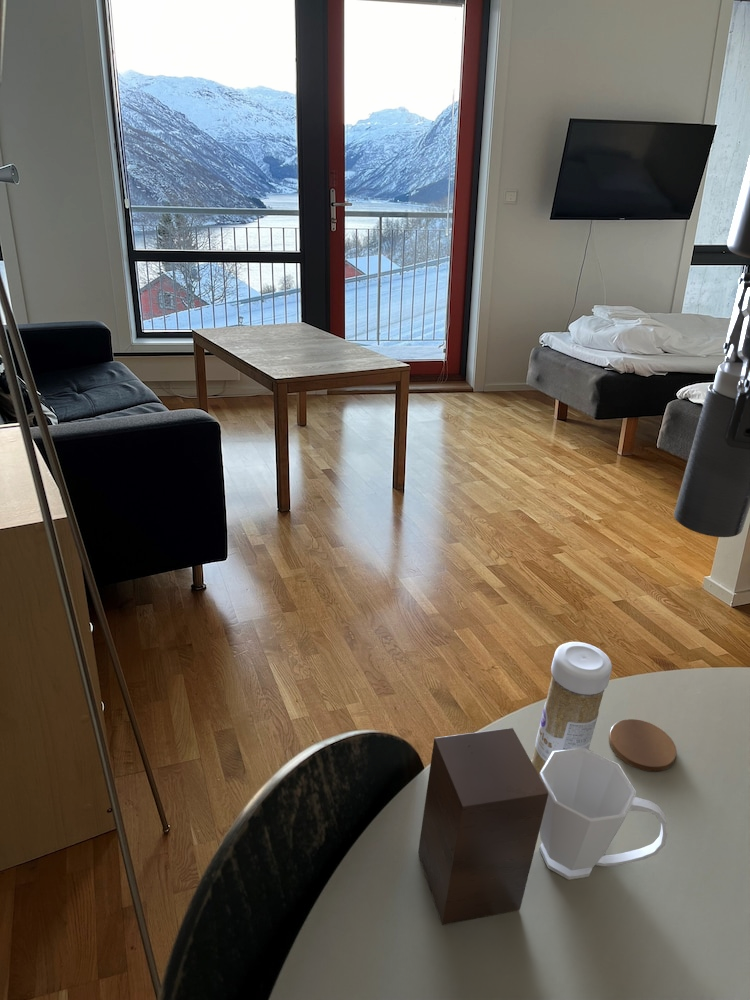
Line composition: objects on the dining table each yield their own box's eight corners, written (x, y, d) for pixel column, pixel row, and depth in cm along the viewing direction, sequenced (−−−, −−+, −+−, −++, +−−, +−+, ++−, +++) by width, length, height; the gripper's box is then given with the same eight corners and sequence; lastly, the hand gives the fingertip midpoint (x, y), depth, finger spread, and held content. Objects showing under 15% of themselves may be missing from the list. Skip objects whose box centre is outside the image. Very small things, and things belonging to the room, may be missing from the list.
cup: (523, 809, 62) (539, 738, 58) (646, 835, 60) (671, 763, 56) (521, 884, 55) (540, 810, 52) (659, 915, 54) (687, 840, 50)
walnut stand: (489, 839, 59) (512, 727, 53) (520, 910, 54) (549, 793, 48) (417, 852, 57) (434, 737, 52) (442, 925, 52) (462, 807, 47)
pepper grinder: (714, 504, 60) (757, 360, 54) (756, 535, 55) (808, 381, 50) (660, 508, 59) (699, 361, 53) (699, 539, 54) (745, 383, 49)
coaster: (651, 720, 72) (653, 715, 72) (688, 766, 67) (690, 762, 67) (597, 727, 71) (598, 722, 71) (630, 776, 66) (631, 771, 65)
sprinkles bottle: (520, 760, 66) (546, 640, 60) (568, 756, 67) (598, 638, 61) (538, 801, 62) (568, 677, 56) (588, 797, 63) (623, 674, 57)
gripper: (919, 191, 39) (814, 480, 47) (844, 178, 51) (771, 409, 59) (766, 180, 41) (689, 461, 48) (729, 170, 53) (673, 395, 61)
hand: (734, 431), depth 54 cm, fingers closed on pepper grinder, 5 cm apart
